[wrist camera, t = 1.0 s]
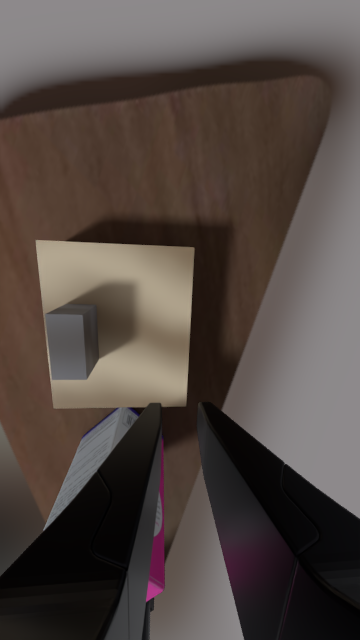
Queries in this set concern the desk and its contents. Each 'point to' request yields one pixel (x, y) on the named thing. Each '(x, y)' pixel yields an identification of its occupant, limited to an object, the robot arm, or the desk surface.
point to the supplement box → (86, 464)
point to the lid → (116, 323)
